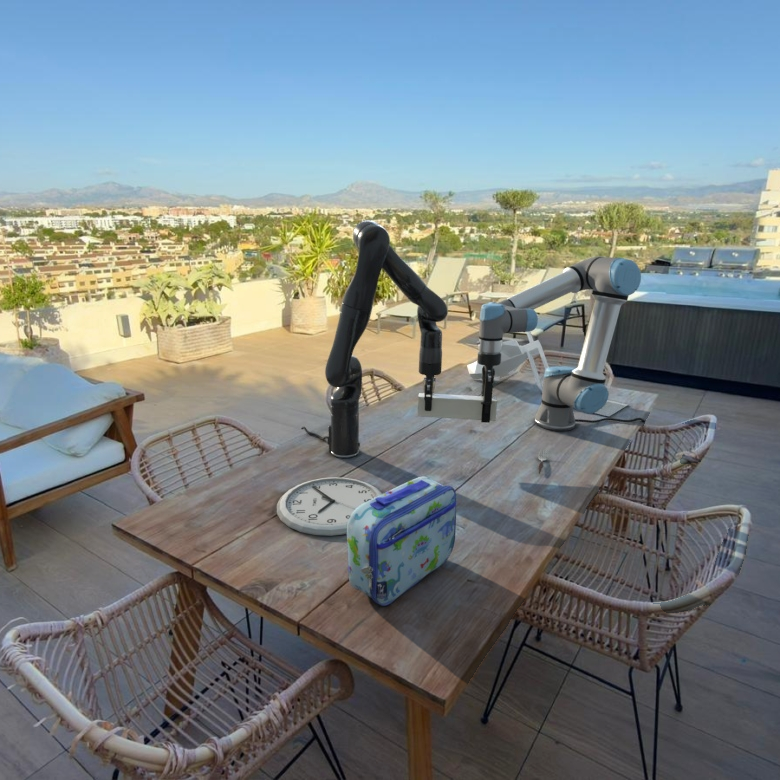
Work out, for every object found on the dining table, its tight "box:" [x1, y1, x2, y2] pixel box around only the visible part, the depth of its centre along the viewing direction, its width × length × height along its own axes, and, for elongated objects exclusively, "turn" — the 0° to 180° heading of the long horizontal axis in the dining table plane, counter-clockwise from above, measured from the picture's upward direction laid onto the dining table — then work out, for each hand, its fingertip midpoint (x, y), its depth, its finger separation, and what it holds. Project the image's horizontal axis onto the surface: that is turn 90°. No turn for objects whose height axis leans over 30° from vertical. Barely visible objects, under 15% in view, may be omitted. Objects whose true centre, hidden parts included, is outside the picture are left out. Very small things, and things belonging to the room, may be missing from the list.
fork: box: [538, 449, 548, 474], centre depth 169 cm, size 3×16×2 cm, turn 160°
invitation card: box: [594, 399, 629, 418], centre depth 226 cm, size 21×1×15 cm
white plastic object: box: [466, 331, 550, 392], centre depth 255 cm, size 37×45×31 cm
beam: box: [417, 392, 498, 422], centre depth 176 cm, size 26×4×7 cm, turn 83°
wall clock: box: [276, 476, 384, 537], centre depth 142 cm, size 30×2×30 cm
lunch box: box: [346, 475, 457, 607], centre depth 111 cm, size 26×11×21 cm, turn 134°
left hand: (428, 407), depth 178 cm, fingers closed on beam, 4 cm apart
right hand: (485, 419), depth 177 cm, fingers closed on beam, 4 cm apart
